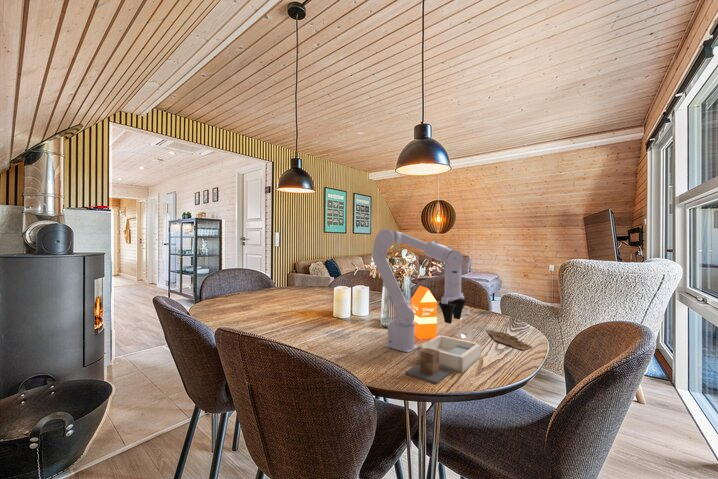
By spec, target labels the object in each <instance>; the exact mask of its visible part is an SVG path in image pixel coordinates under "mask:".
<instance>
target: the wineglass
mask: <svg viewBox="0 0 718 479" xmlns="http://www.w3.org/2000/svg"><path fill="white" fill-rule="evenodd" d="M470 308H471V307H470V306H469V305H466V304H465V305H464V307H463V309H462V313H461V317H460V319H458V320H459V322H460V333H455V334H454V336H455V337H458V338H463V339H464V338H465V339H466V338H468V334H467V335H466V334H465V333H464V334H463V321H464V320H466V319H467V318H469V316H470V315H471V310H470Z"/></svg>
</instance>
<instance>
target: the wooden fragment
mask: <svg viewBox="0 0 718 479" xmlns="http://www.w3.org/2000/svg"><path fill="white" fill-rule="evenodd" d="M485 331H486V332H487V333H488V335H490V337H491V338H492V339H493V341H495V342H498V343H501V344H503V345H507V346H510V347H513V348H516V349H520V350H522V352H524V351H529V349H530V350H531V349H532V347H533V346H532V345H530V344H528V343H524V341H521V340H519V339H518V337H516V336H513V335H511V334H510V335H509V334H508V333H504V332H501V331H494V330H490V329H489V330H488V329H485Z"/></svg>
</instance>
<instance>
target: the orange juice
mask: <svg viewBox="0 0 718 479" xmlns="http://www.w3.org/2000/svg"><path fill="white" fill-rule="evenodd" d="M410 305H411V307H412V309H413V312H414V316H415V317H414V322H415V338H417V339H418V340H431V339H433V338H435V337H437V336H438V335H437V330H438V329H437V327H438V326H437V323H438V312H437V311H438V301H437V300H436V298H435V297H434V295H433V293H432V292H431V290H430V289H429V288H428V287H424V286H422V285H419V286H418V288H417V289H416V291H415V292H414V294H413V296H412V297H411V298H410Z"/></svg>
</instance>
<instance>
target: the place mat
mask: <svg viewBox="0 0 718 479" xmlns="http://www.w3.org/2000/svg"><path fill="white" fill-rule="evenodd" d="M452 373H453V370H451V369H447V368H444V367H440V366H439V371H438V372H437V373H436V374H434V375H430V374H426V373H423V372H420V362H419V363H418V364H416V365H414V366H412V367H411V368H410V369H408V370H406V371H405V373H404V374H405V375H408V376H411V377H413V378H417V379H420V380H424V381H426V382H429V383H433V384H435V385H437V384H439V383H440V382H441V381H443V380H444V379H445V378H447V377H448V376H450V375H451V374H452Z"/></svg>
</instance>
